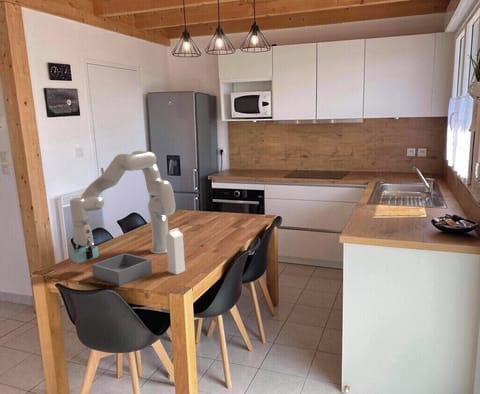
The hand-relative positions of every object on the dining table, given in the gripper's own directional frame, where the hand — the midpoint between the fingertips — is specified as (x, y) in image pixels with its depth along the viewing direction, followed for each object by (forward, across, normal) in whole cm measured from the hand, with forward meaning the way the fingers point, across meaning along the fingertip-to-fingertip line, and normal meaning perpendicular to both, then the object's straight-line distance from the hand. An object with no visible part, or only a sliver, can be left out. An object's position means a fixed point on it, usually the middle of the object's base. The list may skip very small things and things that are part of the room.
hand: (85, 256), depth 211 cm
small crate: (+1, 0, 0) cm, 1 cm away
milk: (+10, -38, -25) cm, 46 cm away
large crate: (+9, -19, -7) cm, 22 cm away
